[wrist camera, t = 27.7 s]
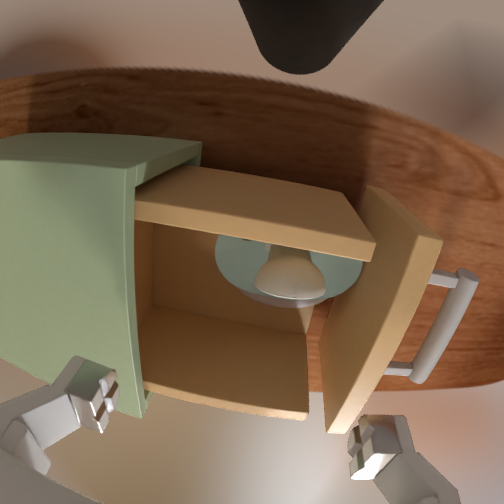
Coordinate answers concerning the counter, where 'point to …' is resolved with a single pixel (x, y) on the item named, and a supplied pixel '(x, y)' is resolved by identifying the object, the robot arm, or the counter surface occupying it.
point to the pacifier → (283, 272)
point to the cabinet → (76, 250)
